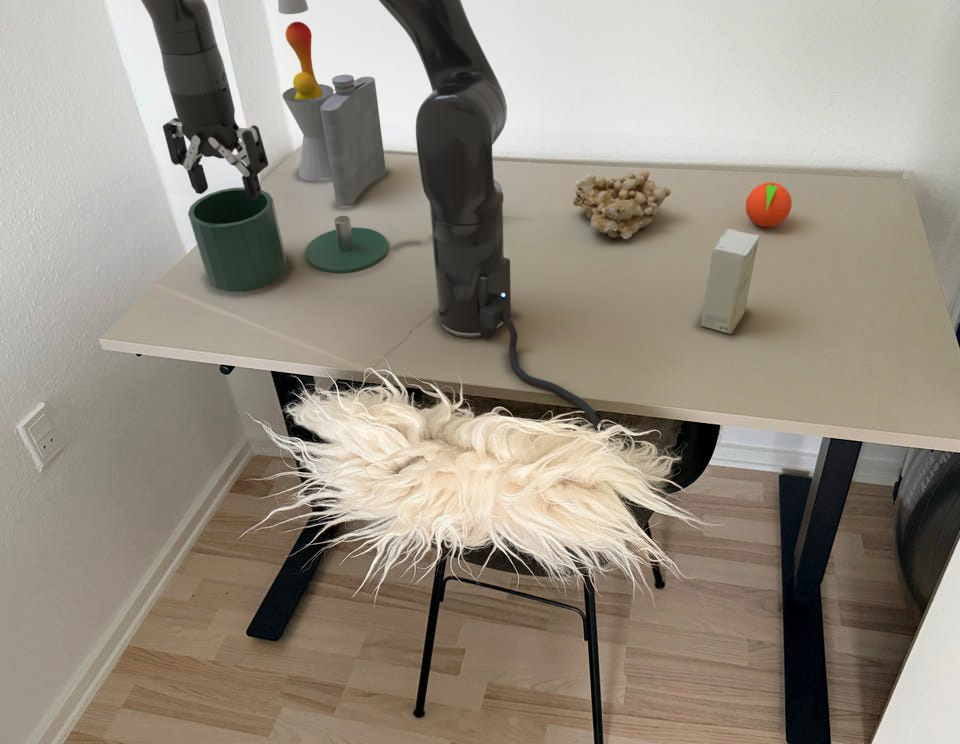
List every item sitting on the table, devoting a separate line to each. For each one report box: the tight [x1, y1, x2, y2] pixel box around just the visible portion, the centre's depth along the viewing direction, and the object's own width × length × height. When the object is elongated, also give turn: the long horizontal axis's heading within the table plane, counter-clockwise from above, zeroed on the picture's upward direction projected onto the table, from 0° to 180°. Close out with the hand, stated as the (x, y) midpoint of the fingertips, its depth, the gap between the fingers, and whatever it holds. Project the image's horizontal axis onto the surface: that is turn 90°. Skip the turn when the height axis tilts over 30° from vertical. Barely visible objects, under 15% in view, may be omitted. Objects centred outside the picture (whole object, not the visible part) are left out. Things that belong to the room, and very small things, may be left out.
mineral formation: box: [572, 169, 672, 240], centre depth 129 cm, size 8×13×15 cm
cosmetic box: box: [700, 228, 760, 335], centre depth 106 cm, size 6×4×12 cm
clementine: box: [745, 181, 793, 228], centre depth 126 cm, size 8×7×7 cm
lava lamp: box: [277, 0, 335, 183], centre depth 139 cm, size 9×9×35 cm
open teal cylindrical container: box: [187, 187, 288, 293], centre depth 120 cm, size 12×12×12 cm
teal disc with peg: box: [304, 215, 389, 274], centre depth 125 cm, size 13×13×6 cm
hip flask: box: [320, 74, 387, 207], centre depth 138 cm, size 16×4×20 cm, turn 159°
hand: (228, 194), depth 115 cm, fingers open, 8 cm apart
